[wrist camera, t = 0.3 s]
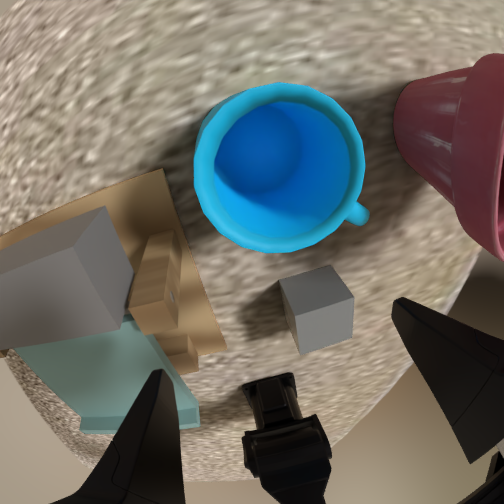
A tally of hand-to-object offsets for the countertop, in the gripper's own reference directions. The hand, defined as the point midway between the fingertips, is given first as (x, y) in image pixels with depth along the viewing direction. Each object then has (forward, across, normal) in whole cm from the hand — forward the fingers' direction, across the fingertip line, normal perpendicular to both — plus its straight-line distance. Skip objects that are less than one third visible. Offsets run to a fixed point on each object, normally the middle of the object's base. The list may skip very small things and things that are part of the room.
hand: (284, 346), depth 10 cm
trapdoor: (+9, +13, +4) cm, 16 cm away
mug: (+14, -4, -3) cm, 15 cm away
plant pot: (+14, -19, -4) cm, 24 cm away
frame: (+14, +13, +4) cm, 20 cm away
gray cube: (+14, -5, +10) cm, 17 cm away
